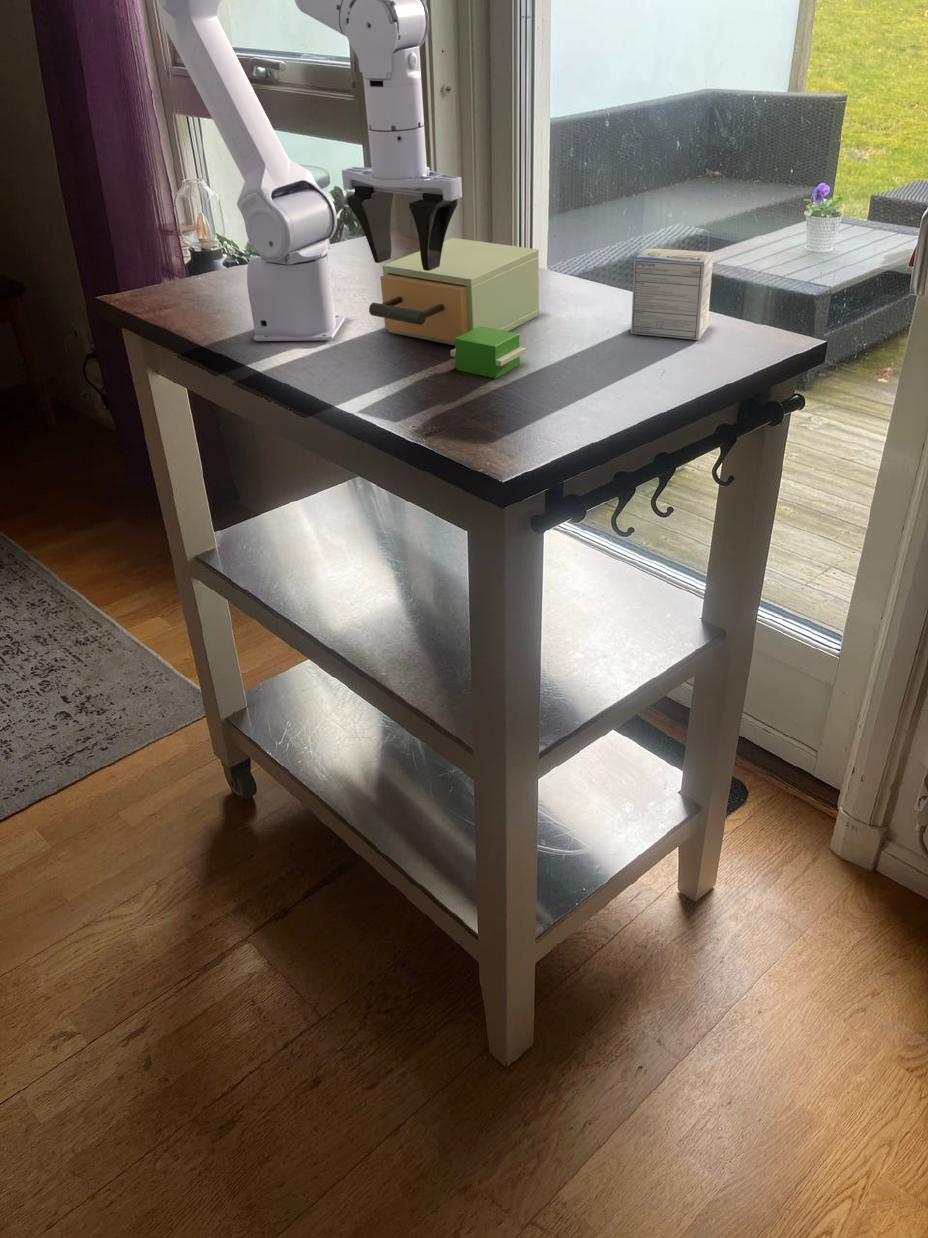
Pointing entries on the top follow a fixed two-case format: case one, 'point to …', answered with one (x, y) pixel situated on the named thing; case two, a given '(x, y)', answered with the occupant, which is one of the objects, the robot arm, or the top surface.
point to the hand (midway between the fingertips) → (406, 264)
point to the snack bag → (487, 352)
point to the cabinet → (482, 281)
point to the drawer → (423, 307)
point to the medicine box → (671, 293)
